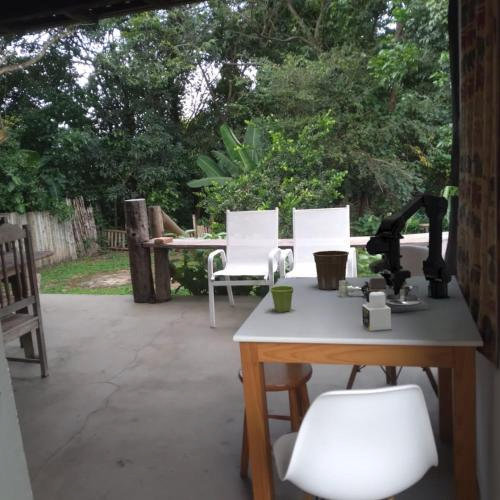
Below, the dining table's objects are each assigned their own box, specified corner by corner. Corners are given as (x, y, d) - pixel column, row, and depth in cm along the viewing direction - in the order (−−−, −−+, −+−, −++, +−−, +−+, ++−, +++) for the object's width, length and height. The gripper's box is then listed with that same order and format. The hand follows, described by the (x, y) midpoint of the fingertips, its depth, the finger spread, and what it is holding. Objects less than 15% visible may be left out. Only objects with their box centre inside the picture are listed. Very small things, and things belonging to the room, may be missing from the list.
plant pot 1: (297, 307, 189) (296, 285, 188) (291, 313, 181) (290, 291, 180) (274, 307, 193) (273, 285, 191) (267, 313, 184) (266, 290, 183)
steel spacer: (397, 297, 183) (396, 284, 183) (402, 299, 178) (401, 285, 178) (384, 298, 183) (383, 285, 182) (389, 300, 178) (388, 286, 177)
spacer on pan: (414, 297, 184) (414, 284, 184) (420, 299, 179) (420, 286, 179) (401, 298, 184) (401, 285, 183) (407, 301, 179) (407, 287, 178)
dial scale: (411, 300, 189) (411, 294, 189) (429, 309, 175) (429, 302, 175) (369, 304, 187) (369, 298, 187) (383, 313, 173) (383, 306, 173)
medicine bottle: (362, 325, 161) (361, 289, 159) (383, 323, 162) (382, 288, 160) (369, 331, 154) (368, 294, 152) (391, 329, 154) (390, 292, 153)
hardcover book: (405, 282, 226) (405, 277, 225) (407, 293, 204) (407, 288, 203) (370, 282, 230) (369, 278, 230) (368, 293, 208) (367, 288, 208)
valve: (337, 298, 202) (366, 298, 197) (336, 282, 201) (366, 283, 196) (340, 294, 208) (369, 295, 203) (340, 279, 207) (368, 279, 202)
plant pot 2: (355, 285, 225) (354, 250, 223) (342, 292, 211) (340, 255, 209) (322, 283, 233) (321, 250, 231) (308, 290, 220) (306, 255, 218)
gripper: (362, 250, 187) (363, 290, 189) (380, 257, 168) (381, 301, 170) (390, 248, 188) (391, 288, 190) (411, 254, 170) (412, 298, 172)
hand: (393, 293), depth 180 cm, fingers closed on steel spacer, 5 cm apart
